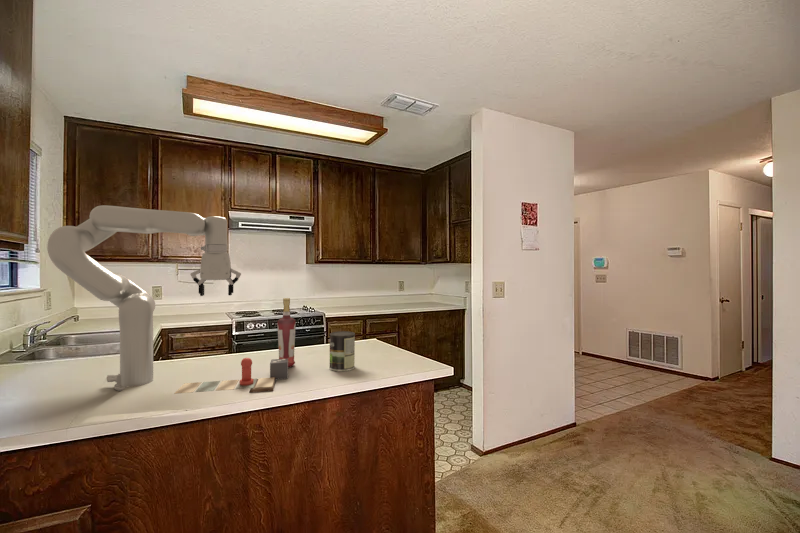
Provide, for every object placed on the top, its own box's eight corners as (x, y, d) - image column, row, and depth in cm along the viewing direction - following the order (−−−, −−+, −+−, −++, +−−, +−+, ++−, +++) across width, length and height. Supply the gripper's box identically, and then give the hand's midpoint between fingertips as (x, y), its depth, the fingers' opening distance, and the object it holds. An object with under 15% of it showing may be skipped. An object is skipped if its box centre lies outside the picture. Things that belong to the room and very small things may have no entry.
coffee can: (331, 372, 149) (331, 336, 149) (327, 365, 159) (327, 331, 159) (357, 370, 152) (357, 334, 152) (352, 364, 162) (352, 330, 162)
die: (270, 379, 139) (270, 363, 139) (271, 375, 145) (271, 359, 145) (287, 378, 141) (287, 362, 141) (287, 374, 147) (287, 358, 147)
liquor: (295, 368, 155) (295, 299, 155) (276, 369, 154) (276, 299, 154) (296, 363, 163) (296, 297, 162) (277, 364, 161) (277, 297, 161)
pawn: (238, 386, 128) (238, 359, 128) (240, 382, 132) (240, 356, 132) (252, 385, 129) (252, 358, 129) (254, 381, 134) (254, 355, 134)
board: (172, 398, 120) (172, 394, 120) (183, 386, 132) (183, 382, 132) (273, 390, 127) (273, 386, 127) (275, 380, 139) (275, 376, 139)
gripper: (187, 249, 138) (187, 296, 138) (239, 249, 143) (239, 295, 143) (193, 250, 146) (193, 295, 146) (242, 250, 150) (242, 294, 150)
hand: (216, 295), depth 144 cm, fingers open, 9 cm apart
